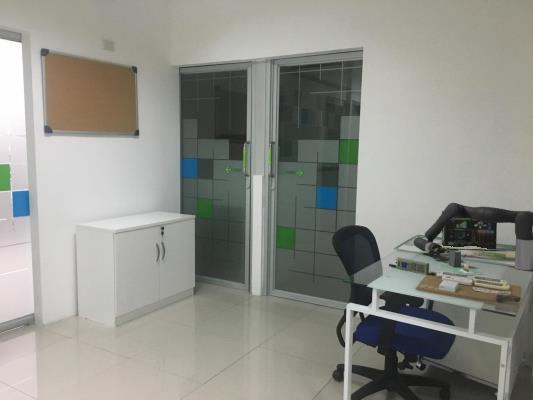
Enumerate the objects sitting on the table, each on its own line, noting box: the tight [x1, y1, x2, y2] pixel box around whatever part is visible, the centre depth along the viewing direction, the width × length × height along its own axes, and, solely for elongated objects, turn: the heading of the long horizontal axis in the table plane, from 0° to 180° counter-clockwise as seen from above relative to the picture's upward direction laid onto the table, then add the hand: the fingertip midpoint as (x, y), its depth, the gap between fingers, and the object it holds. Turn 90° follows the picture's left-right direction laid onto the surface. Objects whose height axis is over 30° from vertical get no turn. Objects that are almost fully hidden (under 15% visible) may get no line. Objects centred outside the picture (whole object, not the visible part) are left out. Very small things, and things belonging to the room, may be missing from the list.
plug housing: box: [448, 250, 462, 268], centre depth 264 cm, size 6×4×9 cm, turn 7°
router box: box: [441, 210, 498, 250], centre depth 322 cm, size 36×11×27 cm, turn 81°
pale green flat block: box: [440, 263, 483, 277], centre depth 258 cm, size 22×14×5 cm, turn 7°
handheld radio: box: [388, 256, 430, 276], centre depth 259 cm, size 7×3×25 cm
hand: (446, 253), depth 273 cm, fingers open, 8 cm apart
